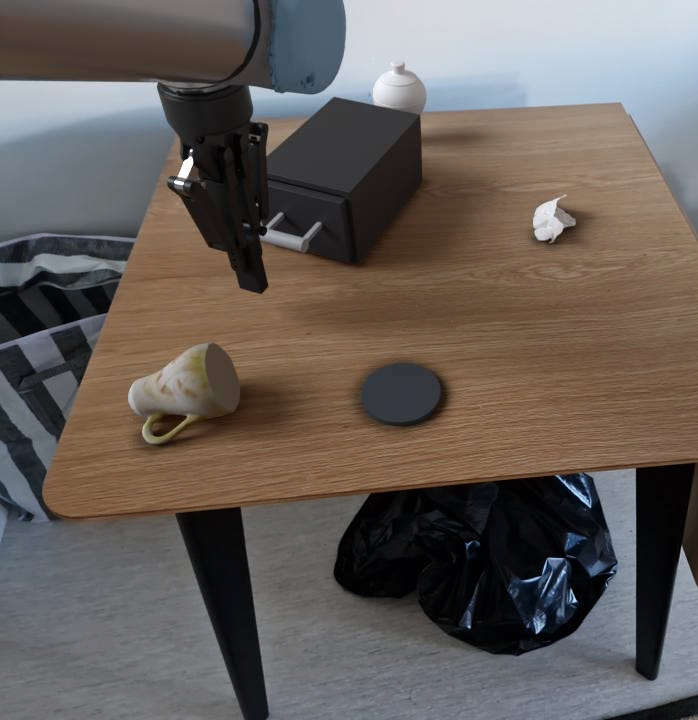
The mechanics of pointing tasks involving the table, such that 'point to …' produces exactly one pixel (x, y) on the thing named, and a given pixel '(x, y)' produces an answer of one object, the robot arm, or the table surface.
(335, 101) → the cabinet
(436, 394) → the coaster
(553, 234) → the tissue
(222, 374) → the mug
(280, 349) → the table surface
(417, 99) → the white rounded knobbed vessel
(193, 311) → the table surface
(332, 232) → the drawer
